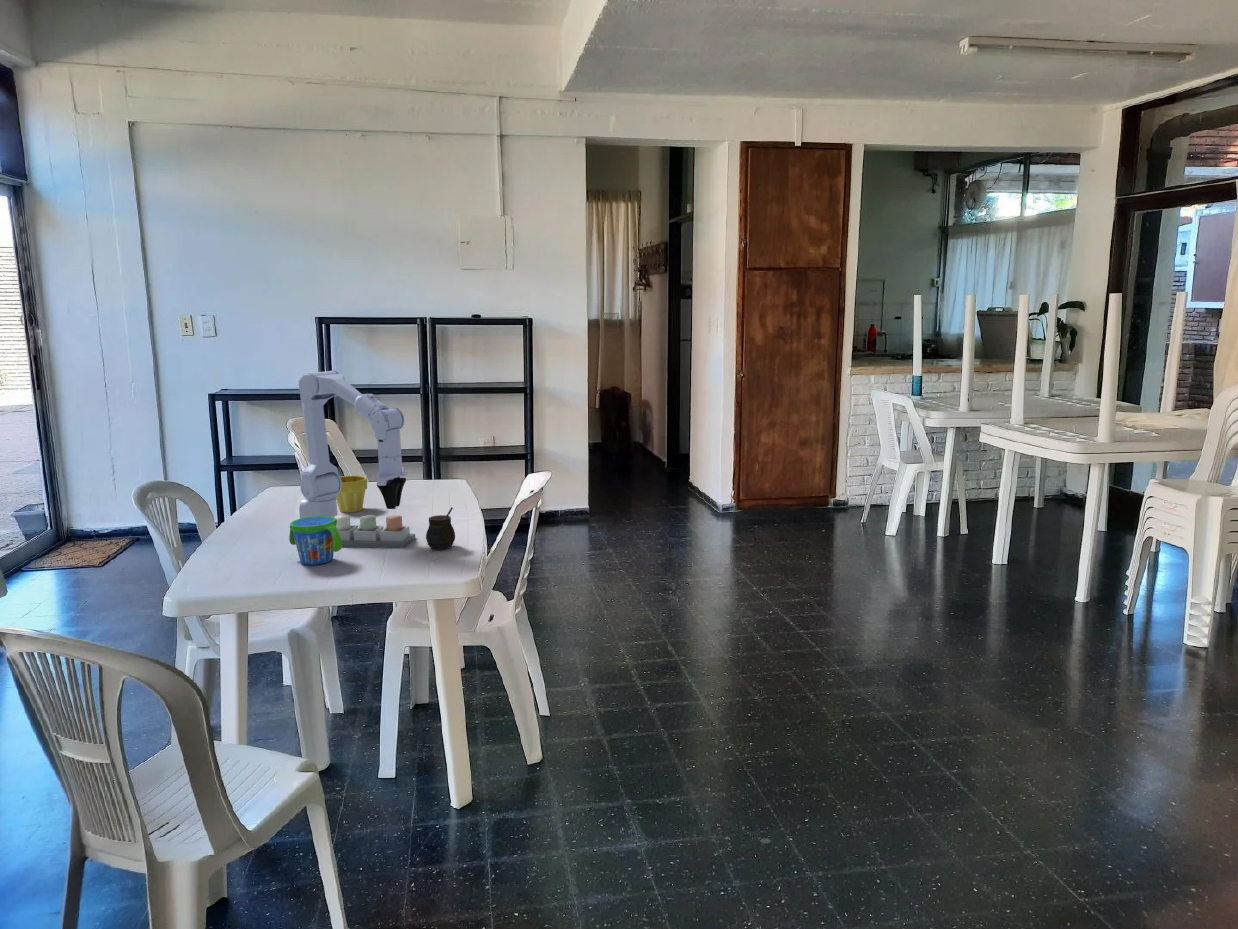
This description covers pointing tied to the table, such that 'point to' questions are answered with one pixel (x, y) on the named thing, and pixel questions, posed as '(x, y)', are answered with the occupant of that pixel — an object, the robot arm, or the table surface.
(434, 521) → the mate gourd
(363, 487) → the plant pot
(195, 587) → the table surface
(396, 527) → the terracotta button
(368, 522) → the sage button
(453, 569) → the table surface
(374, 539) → the button panel
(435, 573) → the table surface
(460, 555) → the table surface
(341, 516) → the cream button
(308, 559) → the snack cup
